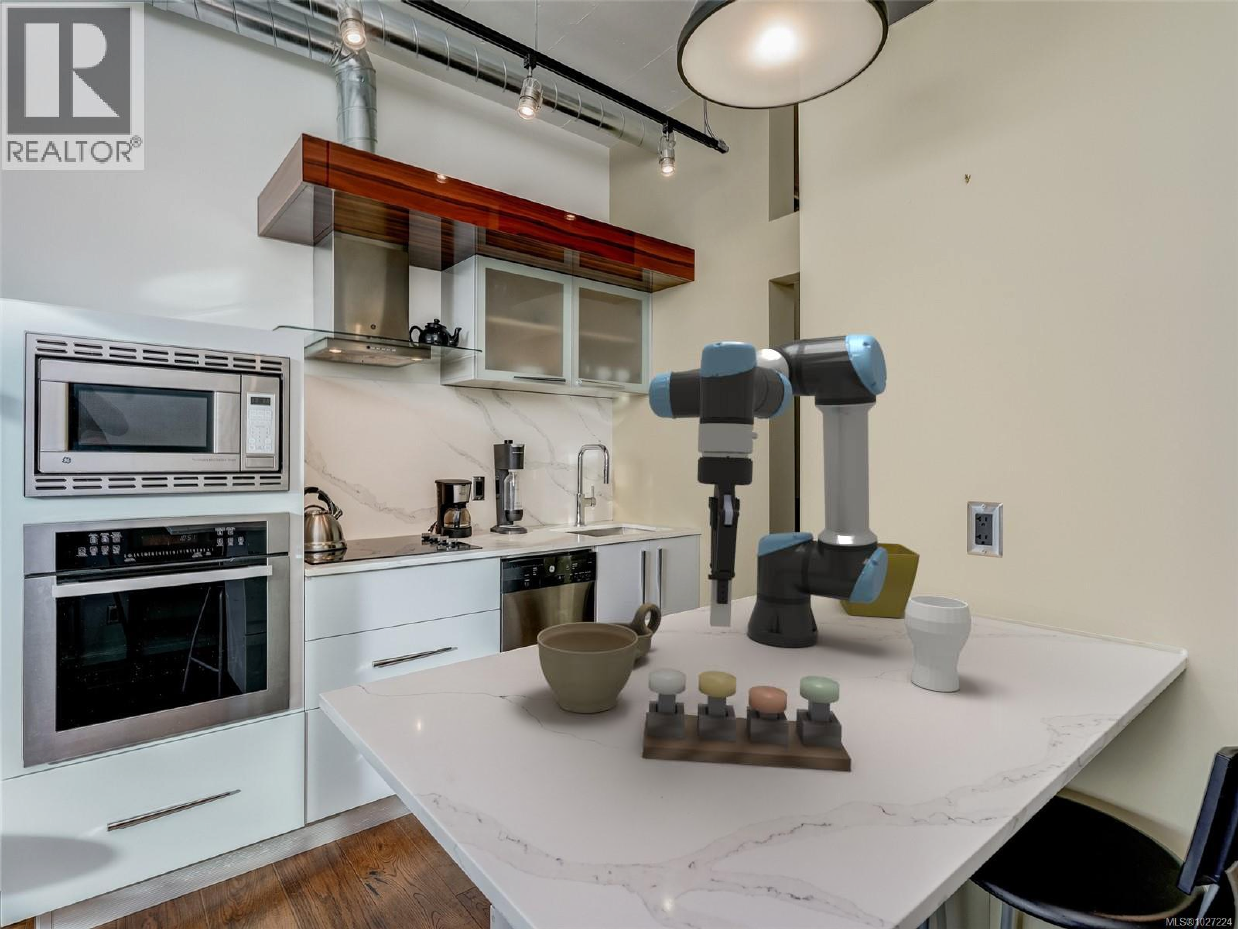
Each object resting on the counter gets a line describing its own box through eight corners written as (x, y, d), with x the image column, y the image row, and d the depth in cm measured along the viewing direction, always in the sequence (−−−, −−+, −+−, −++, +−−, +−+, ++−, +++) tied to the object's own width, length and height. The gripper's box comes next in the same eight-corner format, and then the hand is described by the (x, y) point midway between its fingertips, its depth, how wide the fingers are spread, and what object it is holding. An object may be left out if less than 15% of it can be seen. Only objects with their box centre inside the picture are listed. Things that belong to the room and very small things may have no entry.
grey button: (647, 718, 88) (648, 680, 87) (648, 703, 93) (649, 667, 93) (685, 721, 87) (686, 682, 87) (684, 705, 92) (685, 669, 92)
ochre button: (698, 721, 87) (699, 683, 87) (697, 706, 92) (698, 670, 92) (737, 724, 87) (738, 685, 86) (733, 708, 92) (734, 672, 92)
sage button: (803, 727, 86) (804, 688, 86) (795, 712, 91) (796, 675, 91) (842, 730, 85) (843, 691, 85) (832, 714, 91) (834, 677, 90)
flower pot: (837, 618, 159) (839, 551, 158) (825, 600, 178) (827, 540, 177) (918, 623, 156) (921, 555, 155) (897, 604, 174) (900, 543, 174)
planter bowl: (543, 682, 111) (545, 620, 111) (636, 685, 111) (638, 623, 110) (527, 722, 95) (529, 649, 95) (636, 726, 94) (637, 653, 94)
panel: (642, 757, 85) (643, 724, 85) (646, 722, 96) (646, 692, 96) (850, 770, 83) (851, 736, 82) (829, 733, 94) (830, 702, 93)
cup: (977, 698, 108) (980, 610, 108) (910, 692, 110) (913, 606, 110) (957, 676, 119) (960, 596, 118) (896, 671, 121) (899, 592, 120)
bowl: (567, 655, 126) (569, 605, 125) (638, 641, 136) (639, 595, 136) (607, 677, 115) (608, 621, 114) (681, 659, 125) (682, 609, 124)
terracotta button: (750, 737, 86) (751, 699, 86) (745, 721, 92) (746, 684, 92) (789, 740, 86) (790, 701, 86) (782, 723, 91) (783, 686, 91)
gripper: (760, 456, 82) (754, 640, 82) (745, 456, 95) (740, 614, 95) (701, 455, 82) (696, 637, 82) (695, 454, 95) (690, 612, 95)
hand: (720, 625), depth 89 cm, fingers closed
